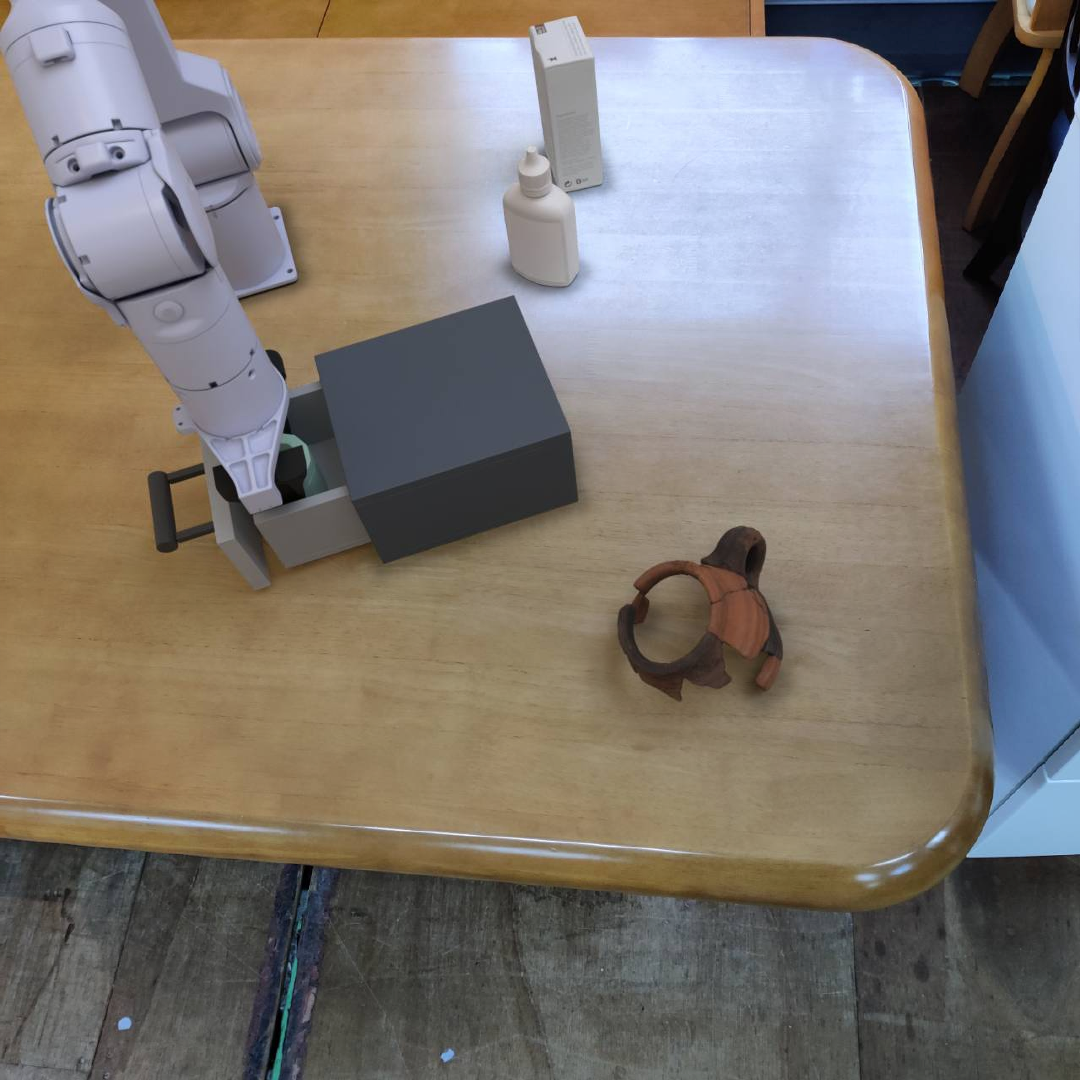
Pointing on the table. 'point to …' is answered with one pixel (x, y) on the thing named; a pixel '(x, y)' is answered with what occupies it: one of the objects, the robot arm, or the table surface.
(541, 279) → the eye dropper bottle
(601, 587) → the table surface
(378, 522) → the cabinet
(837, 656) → the table surface
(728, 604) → the pottery mug
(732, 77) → the table surface
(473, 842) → the table surface
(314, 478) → the jar
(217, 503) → the drawer
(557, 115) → the cosmetic box
